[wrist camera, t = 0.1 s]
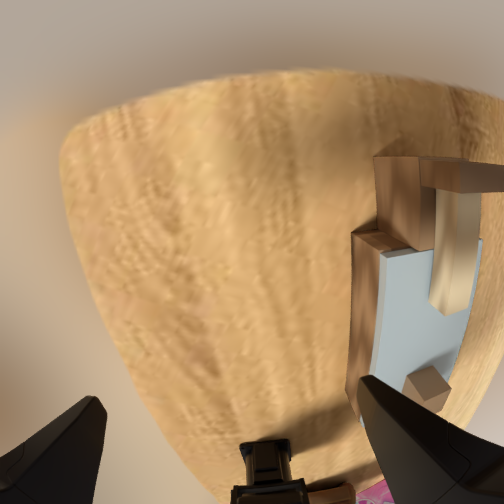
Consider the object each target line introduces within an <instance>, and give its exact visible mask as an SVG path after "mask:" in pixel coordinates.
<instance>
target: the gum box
mask: <svg viewBox="0 0 504 504" xmlns="http://www.w3.org/2000/svg"><path fill="white" fill-rule="evenodd" d="M356 504H395V503H394V500H393V498H392V495H391V493H390V490H389V488H388V485H387V483H386V480H385V479H384V480H383V481H381V482H379V483H377V484H375V485H374V486H372V487H370V488H368V489H366V490H364V491H362V492H360V493H359V494H357V495H356Z"/></svg>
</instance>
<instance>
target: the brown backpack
mask: <svg viewBox="0 0 504 504" xmlns="http://www.w3.org/2000/svg"><path fill="white" fill-rule="evenodd" d="M308 498H309V502H310V504H356V494H355V490H354V488H353V486H352V485H351V484H350V483H347V482H344V483H342V484H341V485H340V486H339V487H338V488H333V489H328V490H323V491H317V492H311V493H308Z"/></svg>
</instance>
